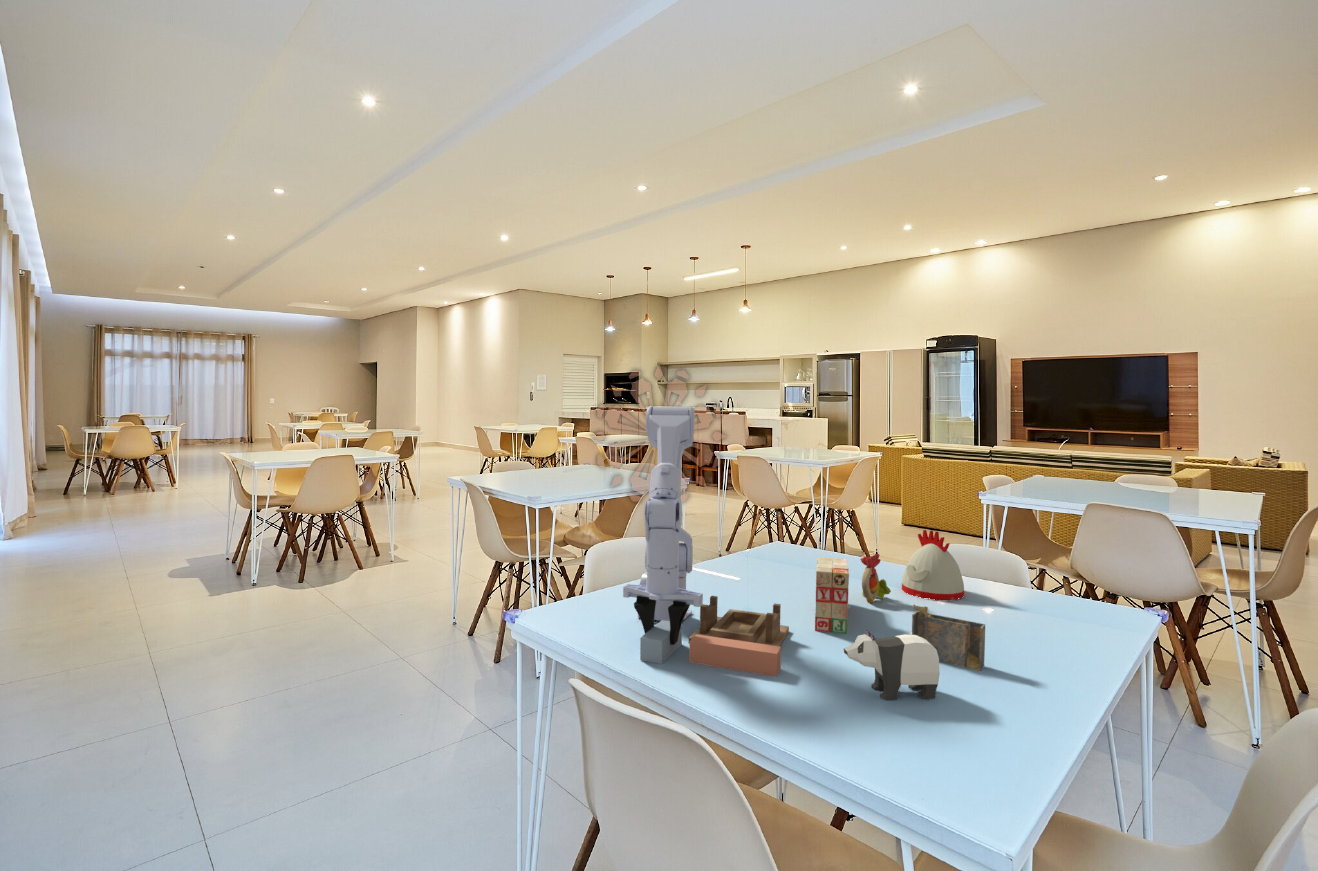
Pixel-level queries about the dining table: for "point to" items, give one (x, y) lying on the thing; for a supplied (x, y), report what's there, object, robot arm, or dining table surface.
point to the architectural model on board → (952, 638)
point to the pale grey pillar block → (658, 643)
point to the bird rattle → (872, 580)
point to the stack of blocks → (831, 595)
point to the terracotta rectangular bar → (735, 654)
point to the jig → (742, 625)
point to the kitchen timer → (933, 571)
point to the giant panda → (898, 663)
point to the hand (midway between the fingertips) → (661, 640)
